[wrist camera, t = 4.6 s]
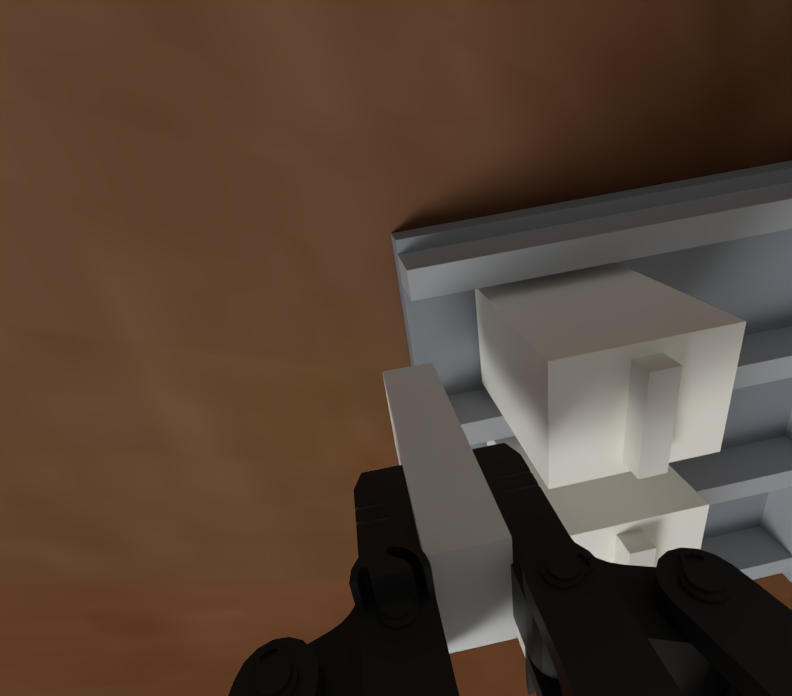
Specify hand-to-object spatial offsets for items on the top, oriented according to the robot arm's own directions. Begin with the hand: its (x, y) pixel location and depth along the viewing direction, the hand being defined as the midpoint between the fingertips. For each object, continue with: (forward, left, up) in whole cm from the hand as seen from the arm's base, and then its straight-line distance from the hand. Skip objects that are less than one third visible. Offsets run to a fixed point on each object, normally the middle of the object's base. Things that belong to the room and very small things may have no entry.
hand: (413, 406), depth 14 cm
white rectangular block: (0, +6, -3) cm, 7 cm away
